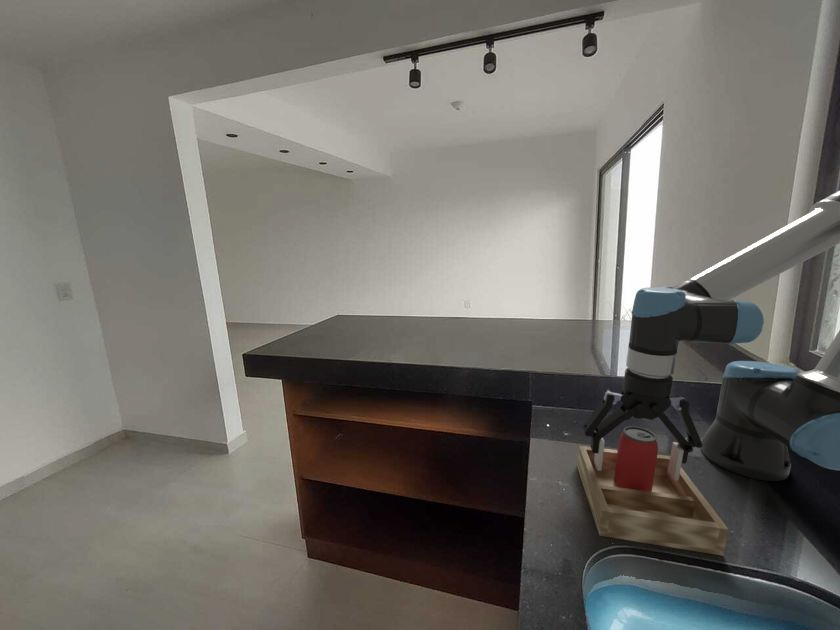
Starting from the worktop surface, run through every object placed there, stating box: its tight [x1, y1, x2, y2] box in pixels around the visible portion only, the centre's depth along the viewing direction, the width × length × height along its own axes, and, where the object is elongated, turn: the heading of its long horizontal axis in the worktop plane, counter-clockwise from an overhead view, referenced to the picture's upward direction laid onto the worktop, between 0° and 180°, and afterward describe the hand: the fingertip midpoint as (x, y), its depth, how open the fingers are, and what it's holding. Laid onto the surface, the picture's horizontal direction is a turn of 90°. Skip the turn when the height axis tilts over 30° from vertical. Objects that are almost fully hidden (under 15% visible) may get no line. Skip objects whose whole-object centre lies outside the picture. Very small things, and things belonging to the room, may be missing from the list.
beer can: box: [614, 425, 659, 492], centre depth 70 cm, size 7×7×12 cm
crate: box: [576, 445, 729, 557], centre depth 68 cm, size 18×19×5 cm
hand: (634, 471), depth 70 cm, fingers open, 13 cm apart
